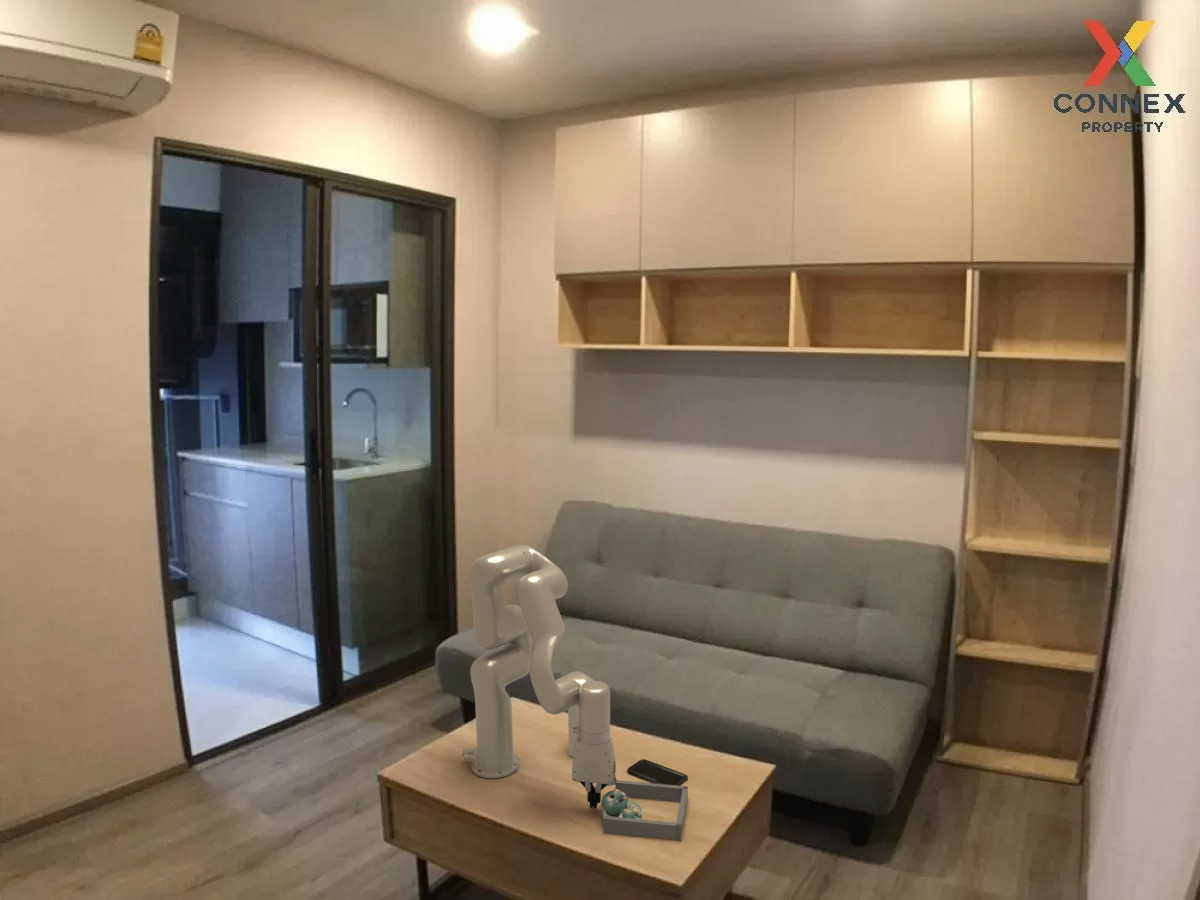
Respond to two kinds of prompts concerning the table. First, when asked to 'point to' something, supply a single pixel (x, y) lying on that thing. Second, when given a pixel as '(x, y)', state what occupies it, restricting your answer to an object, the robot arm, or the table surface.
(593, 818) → the table surface
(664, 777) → the phone
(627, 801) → the stuffed animal
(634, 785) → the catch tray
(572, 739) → the milk carton
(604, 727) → the robot arm
